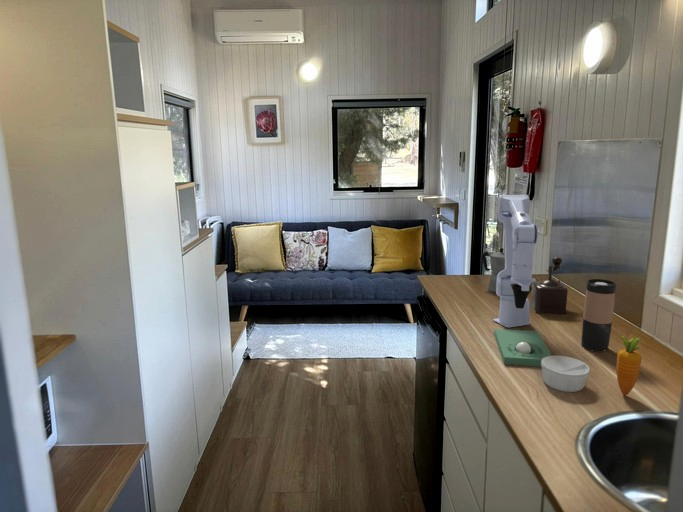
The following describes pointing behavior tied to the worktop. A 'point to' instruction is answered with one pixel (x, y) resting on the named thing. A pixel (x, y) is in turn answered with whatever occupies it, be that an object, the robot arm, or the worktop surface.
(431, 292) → the worktop surface
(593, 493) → the worktop surface
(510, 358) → the putting mat
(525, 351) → the ball
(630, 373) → the carrot
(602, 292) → the travel mug
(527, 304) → the robot arm
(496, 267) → the coffeepot
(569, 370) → the ramekin
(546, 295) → the manual coffee grinder
